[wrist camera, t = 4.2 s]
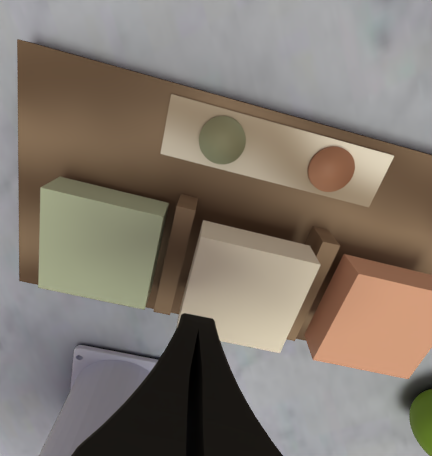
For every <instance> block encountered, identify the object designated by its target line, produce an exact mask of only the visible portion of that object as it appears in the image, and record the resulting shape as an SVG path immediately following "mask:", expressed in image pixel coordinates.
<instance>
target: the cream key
mask: <svg viewBox="0 0 432 456" xmlns="http://www.w3.org/2000/svg"><path fill="white" fill-rule="evenodd" d="M320 265H321V264H320V263H319V261H318V259H317V257H316V256H315V254H314V252H313V250H312V249H311V247H310V246H309V245H305V244H301V243H297V242H292V241H288V240H284V239H280V238H276V237H272V236H267V235H263V234H259V233H255V232H251V231H247V230H242V229H238V228H234V227H230V226H226V225H222V224H217V223H213V222H209V221H205V220H203V222H202V226H201V230H200V234H199V237H198V241H197V245H196V249H195V253H194V257H193V260H192V264H191V268H190V272H189V276H188V280H187V283H186V287H185V291H184V295H183V299H182V303H181V306H180V311H179V317H178V322H177V326H178V324H179V321H180V317H181V314H183V313H187V314H192V315H197V316H202V317H207V318H212V319H214V321H215V325H216V329H217V333H218V336H219V339H220V341H223V342H228V343H233V344H238V345H243V346H248V347H252V348H257V349H262V350H267V351H272V352H277V353H280V352H281V349H282V347H283V345H284V343H285V341H286V339H287V336H288V334H289V332H290V330H291V328H292V326H293V324H294V321H295V319H296V317H297V315H298V313H299V311H300V308H301V306H302V304H303V302H304V300H305V298H306V295H307V293H308V291H309V289H310V287H311V285H312V283H313V280H314V278H315V276H316V274H317V272H318V270H319V267H320ZM176 329H177V328H176Z"/></svg>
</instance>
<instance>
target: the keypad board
mask: <svg viewBox="0 0 432 456" xmlns="http://www.w3.org/2000/svg"><path fill="white" fill-rule="evenodd" d="M17 49H18V165H19V281H23V282H27V283H32V284H37V285H38V278H39V232H40V187H42V186H44V185H46V184H48V183H49V182H51V181H53V180H55V179H56V178H58V177H64V178H68V179H72V180H76V181H80V182H85V183H89V184H93V185H97V186H101V187H105V188H109V189H113V190H118V191H122V192H126V193H130V194H134V195H138V196H142V197H146V198H151V199H155V200H159V201H163V202H167V203H169V207H168V211H167V216H166V221H165V226H164V231H163V236H162V240H161V245H160V250H159V255H158V260H157V265H156V270H155V274H154V279H153V284H152V289H151V292H150V295H149V298H148V301H147V304H146V307H147V308H152V309H154V312H158V313H162V314H167V315H170V313H176V314H179V311H180V306H181V303H182V299H183V295H184V291H185V287H186V283H187V280H188V276H189V272H190V268H191V264H192V260H193V257H194V253H195V249H196V245H197V241H198V237H199V234H200V230H201V226H202V222H203V220H205V221H209V222H213V223H217V224H222V225H226V226H230V227H234V228H238V229H242V230H247V231H251V232H255V233H259V234H263V235H267V236H272V237H276V238H280V239H284V240H288V241H292V242H297V243H301V244H305V245H309V246H310V247H311V249H312V250H313V252H314V254H315V256H316V257H317V259H318V261H319V263H320V264H321V265H320V267H319V270H318V272H317V274H316V276H315V278H314V280H313V283H312V285H311V287H310V289H309V291H308V293H307V295H306V298H305V300H304V302H303V304H302V306H301V308H300V311H299V313H298V315H297V317H296V319H295V321H294V324H293V326H292V328H291V330H290V332H289V334H288V336H287V339H288V340H292V341H295V339H301V340H306V338H305V335H304V334H305V332H306V330H307V328H308V326H309V324H310V322H311V320H312V318H313V316H314V313H315V311H316V309H317V307H318V305H319V303H320V301H321V299H322V297H323V295H324V293H325V291H326V289H327V287H328V285H329V283H330V281H331V279H332V277H333V275H334V273H335V271H336V269H337V267H338V265H339V263H340V261H341V259H342V257H343V255H344V254H347V255H351V256H355V257H359V258H363V259H368V260H372V261H376V262H380V263H384V264H388V265H393V266H397V267H401V268H405V269H409V270H413V271H418V272H422V273H426V274H430V275H432V155H430V154H427V153H423V152H420V151H416V150H413V149H409V148H406V147H402V146H398V145H395V144H391V143H388V142H384V141H381V140H377V139H373V138H370V137H366V136H363V135H359V134H356V133H352V132H349V131H345V130H341V129H338V128H334V127H331V126H327V125H324V124H320V123H316V122H313V121H309V120H306V119H302V118H299V117H295V116H292V115H288V114H284V113H281V112H277V111H274V110H270V109H267V108H263V107H259V106H256V105H252V104H249V103H245V102H242V101H238V100H234V99H231V98H227V97H224V96H220V95H217V94H213V93H210V92H206V91H202V90H199V89H195V88H192V87H188V86H185V85H181V84H177V83H174V82H170V81H167V80H163V79H160V78H156V77H153V76H149V75H145V74H142V73H138V72H135V71H131V70H128V69H124V68H120V67H117V66H113V65H110V64H106V63H103V62H99V61H96V60H92V59H88V58H85V57H81V56H78V55H74V54H71V53H67V52H63V51H60V50H56V49H53V48H49V47H46V46H42V45H39V44H35V43H31V42H26V41H22V40H18V39H17Z"/></svg>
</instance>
